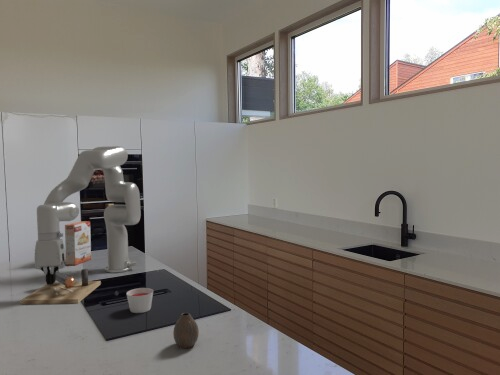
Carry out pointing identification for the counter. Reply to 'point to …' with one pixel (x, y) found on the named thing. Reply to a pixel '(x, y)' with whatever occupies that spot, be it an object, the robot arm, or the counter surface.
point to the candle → (140, 299)
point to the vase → (185, 331)
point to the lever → (64, 279)
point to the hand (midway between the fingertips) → (50, 283)
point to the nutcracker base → (62, 292)
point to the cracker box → (77, 242)
